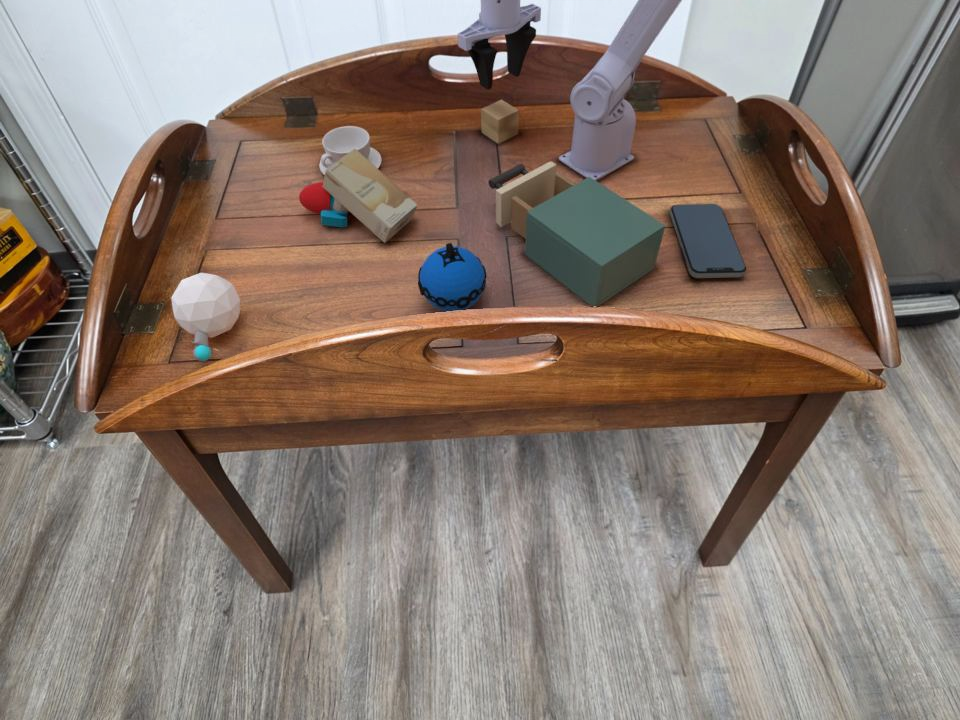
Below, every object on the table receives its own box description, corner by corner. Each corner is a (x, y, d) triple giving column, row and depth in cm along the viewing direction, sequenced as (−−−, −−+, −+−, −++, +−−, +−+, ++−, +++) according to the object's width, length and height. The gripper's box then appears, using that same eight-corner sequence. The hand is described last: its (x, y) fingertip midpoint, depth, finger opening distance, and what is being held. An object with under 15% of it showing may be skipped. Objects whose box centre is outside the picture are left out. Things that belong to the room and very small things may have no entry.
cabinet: (524, 254, 91) (526, 211, 85) (583, 219, 95) (589, 176, 89) (594, 309, 84) (601, 266, 78) (654, 268, 89) (665, 225, 83)
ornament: (496, 315, 84) (496, 258, 76) (433, 334, 82) (426, 277, 74) (473, 272, 89) (471, 214, 81) (413, 289, 87) (405, 231, 79)
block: (501, 123, 111) (501, 99, 108) (518, 134, 109) (518, 110, 106) (481, 132, 110) (481, 108, 106) (498, 144, 108) (498, 120, 104)
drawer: (477, 208, 96) (476, 175, 91) (529, 180, 100) (530, 147, 95) (555, 268, 88) (558, 235, 83) (608, 235, 92) (614, 202, 87)
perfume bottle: (254, 276, 84) (254, 354, 78) (214, 306, 87) (211, 382, 81) (199, 249, 78) (195, 330, 72) (159, 282, 82) (152, 362, 75)
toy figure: (400, 198, 101) (301, 193, 99) (402, 173, 97) (299, 167, 95) (401, 233, 97) (298, 229, 94) (403, 208, 93) (296, 203, 90)
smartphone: (720, 202, 95) (749, 270, 85) (717, 211, 96) (745, 280, 87) (669, 203, 95) (692, 272, 85) (666, 212, 96) (689, 281, 87)
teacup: (355, 139, 109) (350, 114, 106) (394, 163, 105) (390, 137, 101) (307, 165, 105) (300, 140, 101) (345, 191, 100) (340, 166, 97)
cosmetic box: (391, 229, 89) (323, 170, 89) (385, 244, 93) (320, 188, 92) (420, 203, 92) (354, 146, 92) (412, 219, 96) (349, 164, 96)
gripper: (520, -35, 96) (517, 55, 107) (442, -7, 91) (448, 86, 101) (552, -20, 93) (547, 72, 103) (474, 10, 87) (476, 104, 98)
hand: (500, 80), depth 102 cm, fingers open, 5 cm apart
